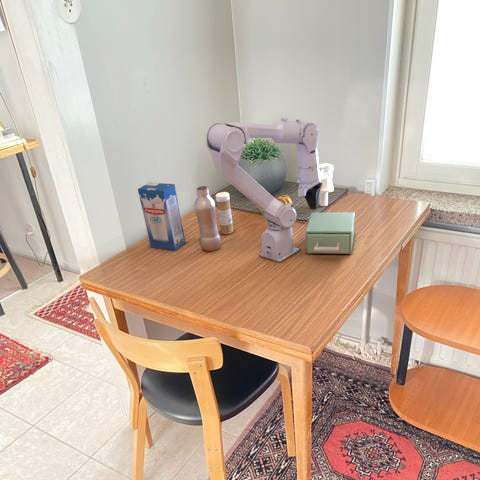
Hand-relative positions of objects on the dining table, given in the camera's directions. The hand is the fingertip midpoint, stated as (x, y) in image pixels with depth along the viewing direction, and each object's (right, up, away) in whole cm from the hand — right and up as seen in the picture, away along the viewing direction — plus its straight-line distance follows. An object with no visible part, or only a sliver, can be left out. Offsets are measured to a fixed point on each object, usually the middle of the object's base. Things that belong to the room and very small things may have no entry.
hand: (313, 208), depth 147 cm
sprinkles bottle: (-27, -4, +18) cm, 33 cm away
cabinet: (+6, -10, +3) cm, 12 cm away
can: (+5, -11, -1) cm, 12 cm away
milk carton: (-46, -9, +15) cm, 50 cm away
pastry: (-7, +7, +32) cm, 33 cm away
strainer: (+8, +8, +30) cm, 32 cm away
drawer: (+5, -12, -1) cm, 13 cm away
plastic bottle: (-32, -11, +9) cm, 35 cm away
